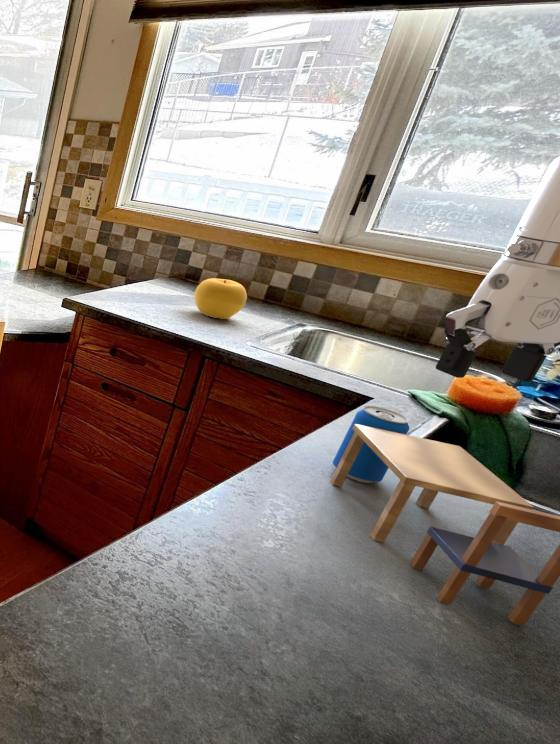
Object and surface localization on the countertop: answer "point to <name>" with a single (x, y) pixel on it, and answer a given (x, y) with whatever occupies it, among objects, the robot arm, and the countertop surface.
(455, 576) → the chair
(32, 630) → the countertop surface
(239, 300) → the apple
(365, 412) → the beverage can
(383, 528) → the dining table
